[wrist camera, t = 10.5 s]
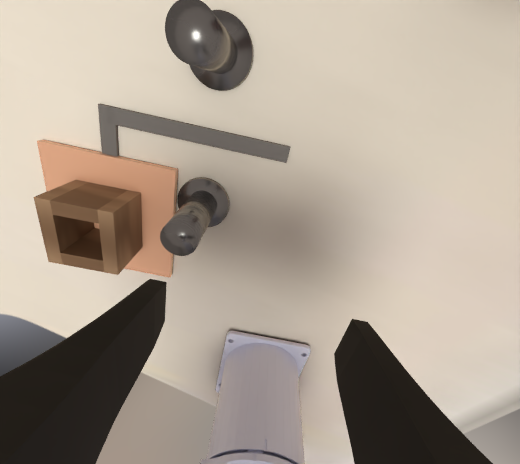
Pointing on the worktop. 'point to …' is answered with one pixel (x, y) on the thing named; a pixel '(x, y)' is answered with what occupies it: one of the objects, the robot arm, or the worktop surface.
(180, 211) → the post
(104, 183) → the pad
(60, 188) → the open wooden crate
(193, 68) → the post
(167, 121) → the grey flat l-shaped piece
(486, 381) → the worktop surface
